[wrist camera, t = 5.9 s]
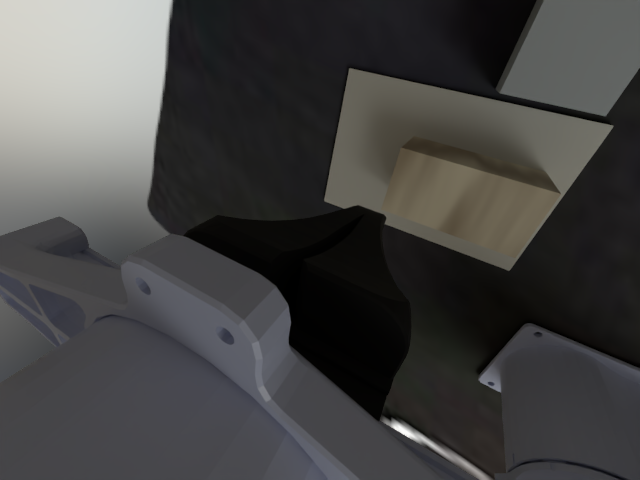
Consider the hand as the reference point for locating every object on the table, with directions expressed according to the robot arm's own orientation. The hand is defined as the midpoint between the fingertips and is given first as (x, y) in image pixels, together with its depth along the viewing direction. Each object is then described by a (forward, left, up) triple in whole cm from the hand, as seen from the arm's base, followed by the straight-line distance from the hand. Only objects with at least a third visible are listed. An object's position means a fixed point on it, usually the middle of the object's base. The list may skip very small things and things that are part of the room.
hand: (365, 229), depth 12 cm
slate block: (-5, -8, -10) cm, 14 cm away
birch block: (+1, 0, -8) cm, 8 cm away
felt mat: (-1, 0, -10) cm, 11 cm away
